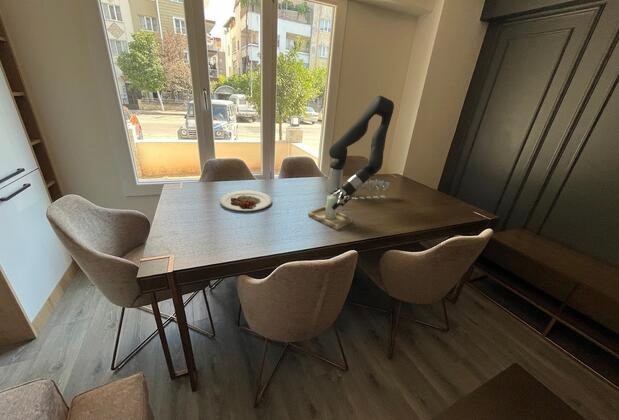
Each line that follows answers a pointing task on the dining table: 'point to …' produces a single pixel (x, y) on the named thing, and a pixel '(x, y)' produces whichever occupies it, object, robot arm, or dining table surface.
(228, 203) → the plated food
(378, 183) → the goblet set
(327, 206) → the sage domed cylinder
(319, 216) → the tray
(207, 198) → the dining table surface
